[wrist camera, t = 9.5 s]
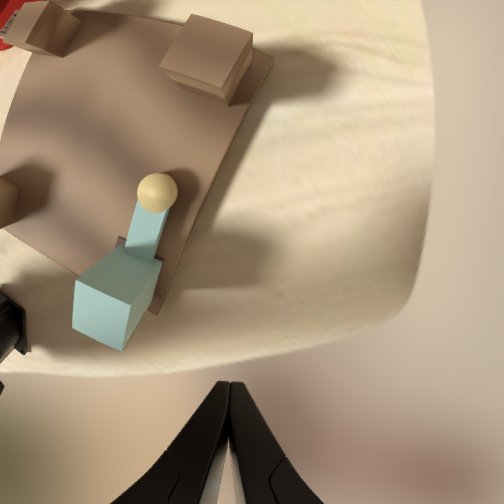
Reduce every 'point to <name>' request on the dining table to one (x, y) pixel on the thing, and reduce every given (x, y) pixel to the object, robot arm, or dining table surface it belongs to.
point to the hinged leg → (125, 270)
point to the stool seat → (118, 127)
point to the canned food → (9, 17)
